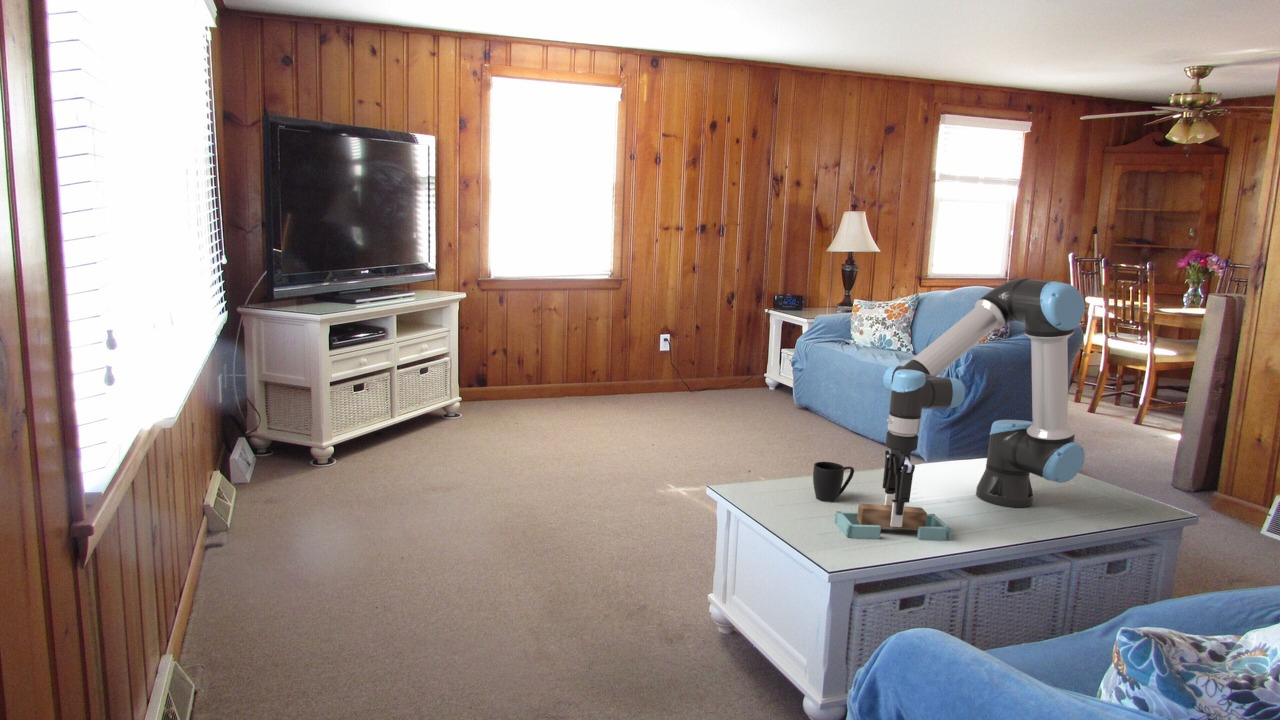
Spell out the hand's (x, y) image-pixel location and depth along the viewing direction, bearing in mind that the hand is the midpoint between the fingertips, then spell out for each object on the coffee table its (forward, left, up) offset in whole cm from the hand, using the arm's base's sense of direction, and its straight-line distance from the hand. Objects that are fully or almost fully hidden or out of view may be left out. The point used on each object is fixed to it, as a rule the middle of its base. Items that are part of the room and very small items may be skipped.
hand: (892, 522), depth 215 cm
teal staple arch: (-9, 0, -2) cm, 9 cm away
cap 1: (+9, 0, -2) cm, 9 cm away
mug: (+8, -24, -3) cm, 25 cm away
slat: (0, 0, -1) cm, 1 cm away
